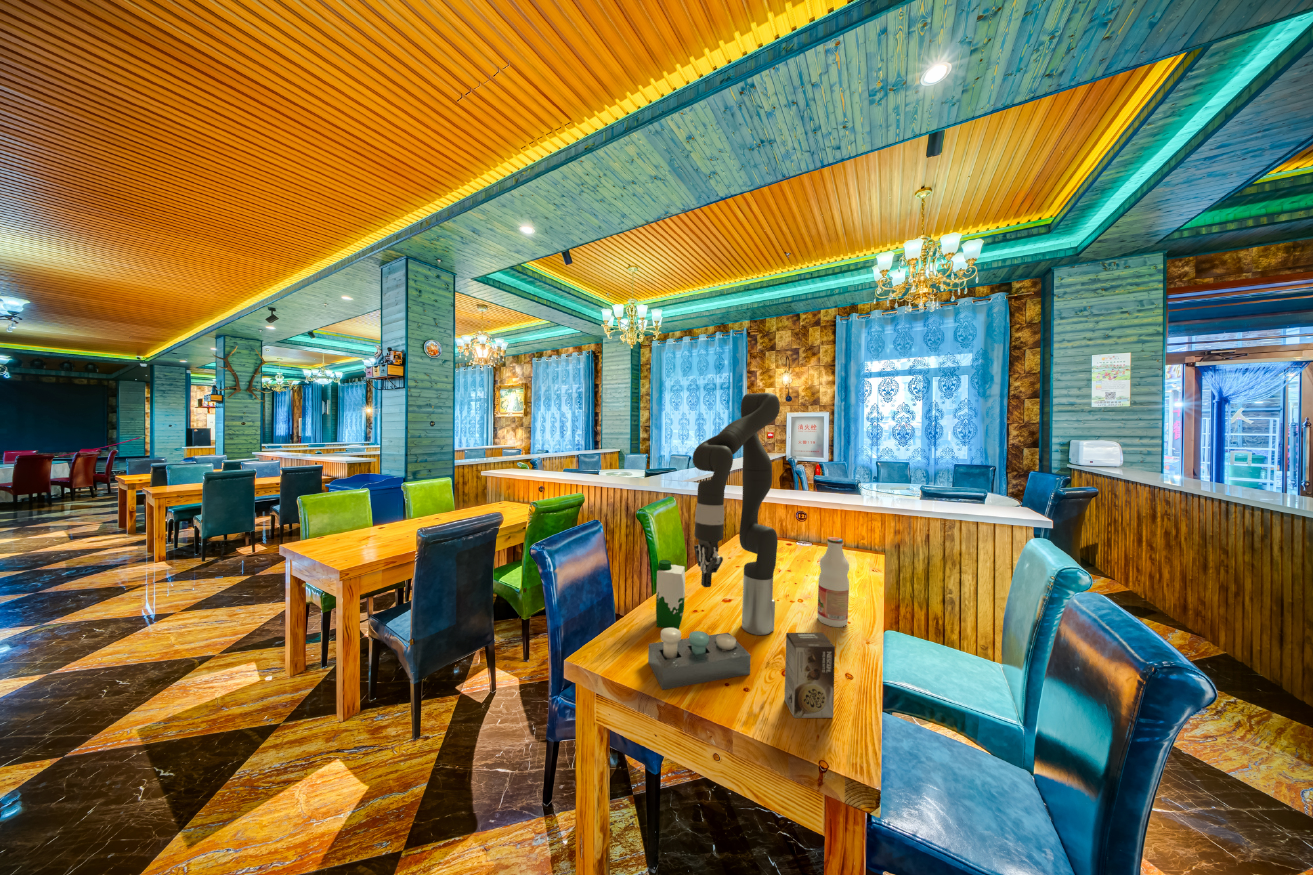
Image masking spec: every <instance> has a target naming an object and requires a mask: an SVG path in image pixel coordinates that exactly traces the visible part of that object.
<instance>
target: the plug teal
mask: <svg viewBox="0 0 1313 875" xmlns="http://www.w3.org/2000/svg"><path fill="white" fill-rule="evenodd" d="M709 635H710V634H708V633H707V632H705V631H700V630H695V631H691V632H690V633H689V635H688V636H689V637H688V638H689V642H690V644H691V645H692V653H693V654H694V655H699V654H705V651H706V646H707V645H708V644H709Z"/></svg>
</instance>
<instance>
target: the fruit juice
mask: <svg viewBox="0 0 1313 875" xmlns="http://www.w3.org/2000/svg"><path fill="white" fill-rule="evenodd" d="M826 540H827V541H826V542H827V548H826V551H825V553H824V554H823V555H822V556H821V558H820V560H819V567H820V574H819V576H818V585H817V586H818V588H817V591H818V592H817V619H818V621H819V622H820V623H822V624H824V625H826V626H829V627H833V628H844V627H846V626H847V625H848V622H849V621H848V620H849V597H850V596H849V594H850V591H849V590H850V580H849V578H848V574H849V572H850V563H849V561H848V559H847V557H846V556H845V553H844V550H843V545H844V539H843V538H840V537H836V536H828V537H827V538H826ZM845 625H846V626H845ZM843 626H844V627H843Z"/></svg>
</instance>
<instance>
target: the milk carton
mask: <svg viewBox="0 0 1313 875" xmlns="http://www.w3.org/2000/svg"><path fill="white" fill-rule="evenodd" d="M685 574H686V573H685V566H683V565H677V564H672V561H670V560H668V559H660V560H659V561H658V567H657V571H656V597H655V598H656V599H655V615H656V616H655V618H656V628H662V629H664V628H676V629H678V630H680V627H681V623H682V620H683V617H684V616H683V615H684V612H685V611H684V610H685V600H686V599H685V594H686V575H685Z"/></svg>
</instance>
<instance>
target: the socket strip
mask: <svg viewBox="0 0 1313 875" xmlns="http://www.w3.org/2000/svg"><path fill="white" fill-rule="evenodd" d="M720 634H728V635H731V633H730V632H724V633H716V634H708V635H709V644H708V645H707V646H706V651H705V654H699V655H694V654H693V653H692V645H691V644H690V642H689V637H687V638H681V640H680V641H679V642H678V645H677V658H674V659H666V658H664V656H663V646H664V642H663V641H660V642H659V641H658V642H652V643H648V656H647V659H648V660H647V663H648V665H649V667H650V668H651V671H652V673H653V674H654V676H655V678H656V681H657V682H658V684H659V686H660V688H661V690H662V691H665V690H669V689H670V690H671V689H675V688H680V687H686V686H691V685H697V684H704V683H710V682H713V681H719V680H725V679H730V678H737V677H741V676H747V675H750V674H751V657H752V656H751V654H750V653H749V652H748V651H747V649H745V648H744V647H743V645H742V644H741V643H739V641H738V640H736V647H735V648H734V649H731V650H725V651H722V650H721V649H720V648H719V647H718V646H717V645H716V637H717V636H718V635H720Z"/></svg>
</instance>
